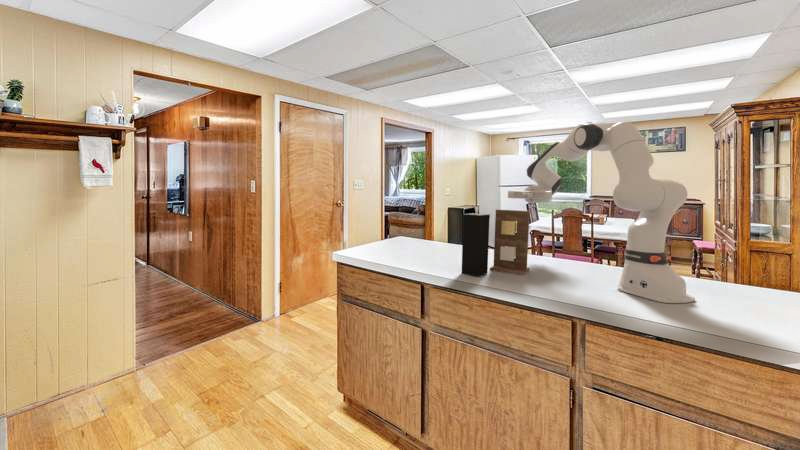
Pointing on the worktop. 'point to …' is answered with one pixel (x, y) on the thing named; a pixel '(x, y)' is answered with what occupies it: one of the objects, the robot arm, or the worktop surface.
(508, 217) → the call panel
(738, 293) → the worktop surface
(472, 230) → the tall black box
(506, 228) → the upper button
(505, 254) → the lower button
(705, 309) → the worktop surface
